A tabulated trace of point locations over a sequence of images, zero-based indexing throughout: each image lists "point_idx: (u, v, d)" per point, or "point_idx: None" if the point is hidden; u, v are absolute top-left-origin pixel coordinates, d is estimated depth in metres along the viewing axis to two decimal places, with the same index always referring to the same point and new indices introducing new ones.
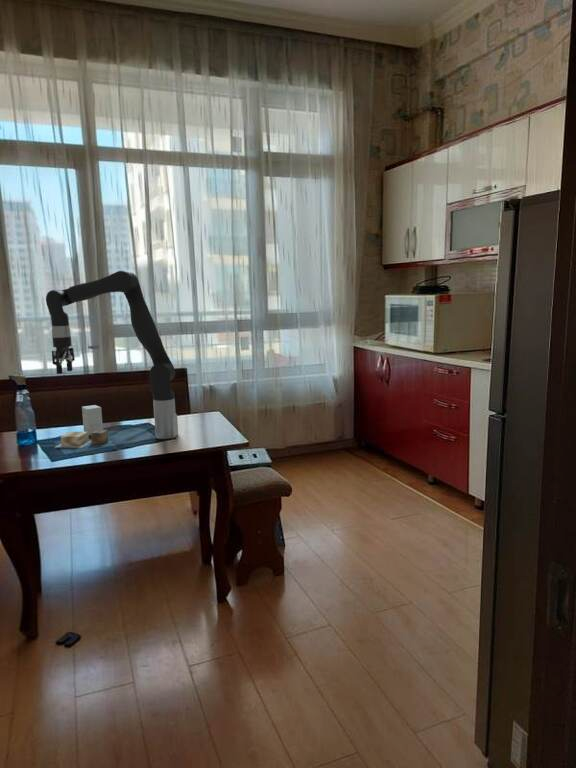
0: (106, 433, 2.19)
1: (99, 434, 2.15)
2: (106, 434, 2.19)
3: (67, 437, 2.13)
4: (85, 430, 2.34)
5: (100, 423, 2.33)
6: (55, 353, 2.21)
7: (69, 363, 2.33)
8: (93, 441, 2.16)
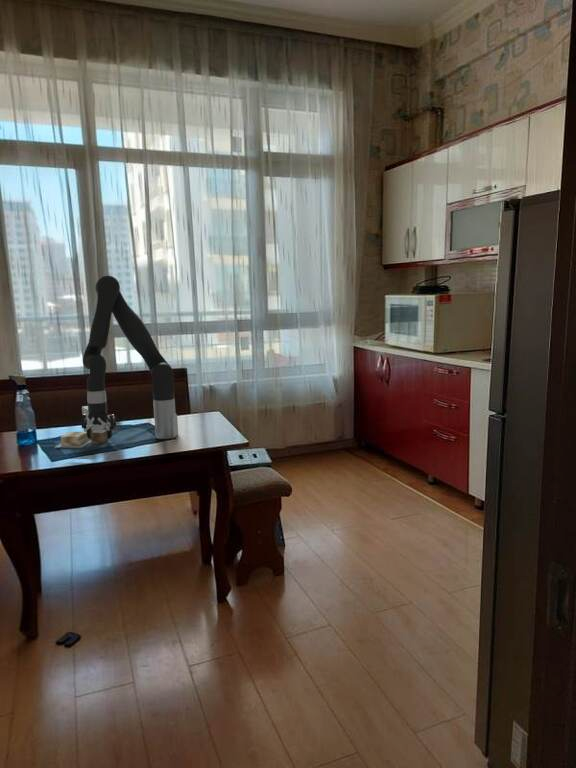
0: (106, 433, 2.19)
1: (99, 434, 2.15)
2: (106, 434, 2.19)
3: (67, 437, 2.13)
4: (85, 430, 2.34)
5: None
6: (114, 417, 2.16)
7: (90, 429, 2.18)
8: (93, 441, 2.16)
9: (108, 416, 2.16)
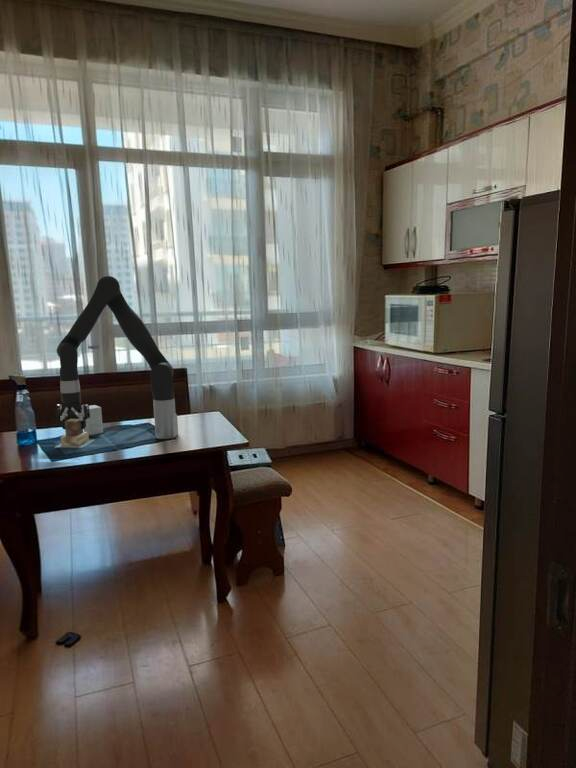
0: (80, 422, 2.17)
1: (73, 423, 2.13)
2: (80, 423, 2.17)
3: (67, 437, 2.13)
4: (85, 430, 2.34)
5: (100, 423, 2.33)
6: (88, 407, 2.14)
7: (65, 420, 2.16)
8: (67, 430, 2.14)
9: (82, 406, 2.14)
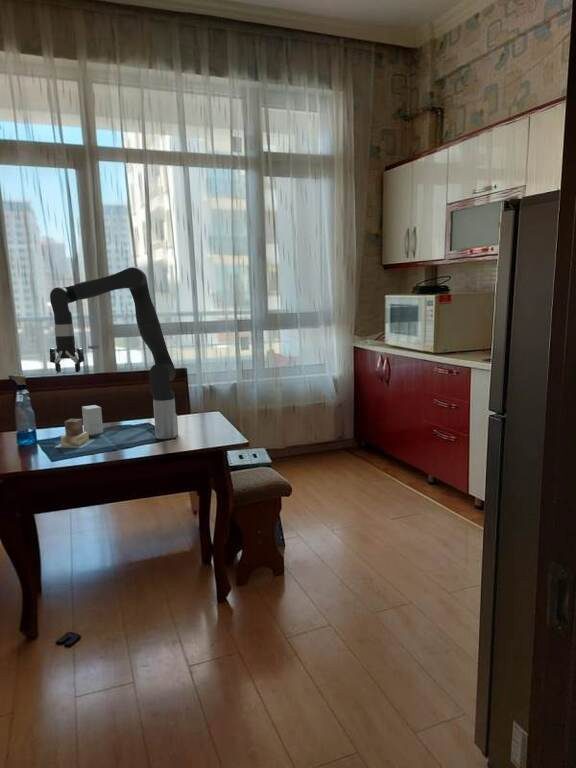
0: (80, 422, 2.17)
1: (73, 423, 2.13)
2: (80, 423, 2.17)
3: (67, 437, 2.13)
4: (85, 430, 2.34)
5: (100, 423, 2.33)
6: (81, 350, 2.21)
7: (59, 364, 2.23)
8: (67, 430, 2.14)
9: (76, 350, 2.20)
